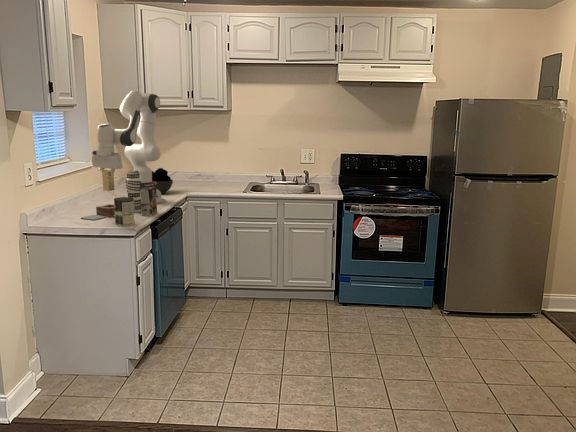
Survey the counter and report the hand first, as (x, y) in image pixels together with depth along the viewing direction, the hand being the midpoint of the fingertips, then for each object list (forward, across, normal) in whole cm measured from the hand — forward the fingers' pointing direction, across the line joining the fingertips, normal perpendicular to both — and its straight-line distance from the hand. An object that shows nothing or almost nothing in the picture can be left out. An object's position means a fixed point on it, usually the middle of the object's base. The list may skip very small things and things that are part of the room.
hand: (108, 175), depth 298 cm
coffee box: (+24, -20, -11) cm, 33 cm away
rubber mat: (+23, 0, +13) cm, 26 cm away
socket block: (+23, 0, +1) cm, 23 cm away
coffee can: (+23, -26, +16) cm, 38 cm away
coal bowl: (+25, +24, -74) cm, 82 cm away
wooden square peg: (+9, 0, 0) cm, 9 cm away
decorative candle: (+24, -5, -15) cm, 29 cm away
